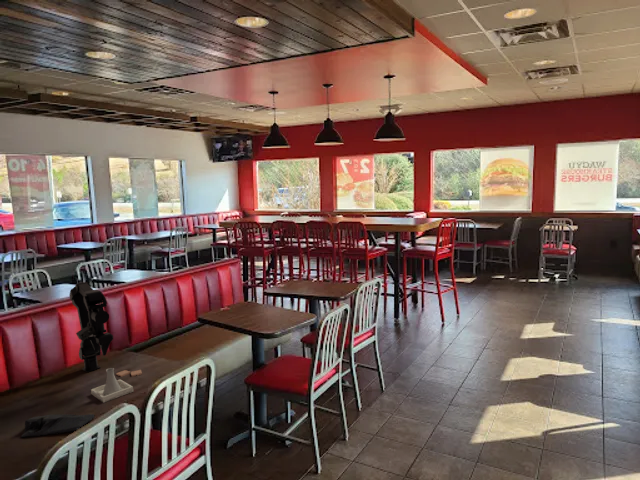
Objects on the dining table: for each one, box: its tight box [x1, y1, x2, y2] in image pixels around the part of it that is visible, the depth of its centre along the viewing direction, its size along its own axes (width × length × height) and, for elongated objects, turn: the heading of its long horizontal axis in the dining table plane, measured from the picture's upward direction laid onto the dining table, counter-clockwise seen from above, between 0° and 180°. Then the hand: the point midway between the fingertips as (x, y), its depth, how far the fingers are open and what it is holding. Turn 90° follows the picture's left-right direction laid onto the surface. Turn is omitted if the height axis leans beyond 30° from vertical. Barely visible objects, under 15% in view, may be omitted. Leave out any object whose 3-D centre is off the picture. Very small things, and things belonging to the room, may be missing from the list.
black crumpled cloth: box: [20, 413, 96, 438], centre depth 174 cm, size 15×22×5 cm
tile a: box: [115, 369, 131, 377], centre depth 221 cm, size 4×4×1 cm
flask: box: [103, 367, 122, 395], centre depth 199 cm, size 7×7×10 cm
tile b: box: [130, 369, 143, 377], centre depth 220 cm, size 4×4×1 cm
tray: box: [90, 378, 134, 404], centre depth 200 cm, size 13×13×2 cm
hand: (100, 353), depth 213 cm, fingers open, 9 cm apart
